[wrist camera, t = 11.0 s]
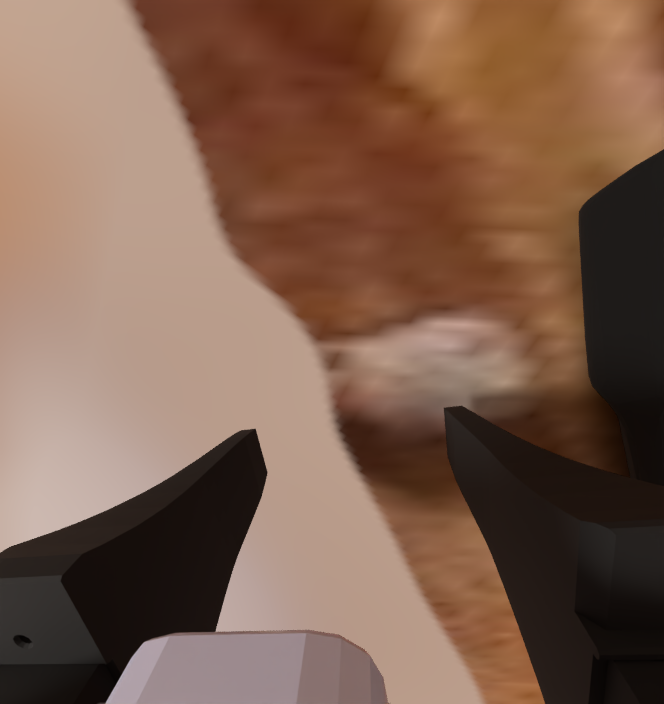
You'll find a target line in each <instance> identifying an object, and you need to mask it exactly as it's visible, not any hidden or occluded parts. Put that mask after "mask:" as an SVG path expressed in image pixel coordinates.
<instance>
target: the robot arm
mask: <svg viewBox="0 0 664 704" xmlns="http://www.w3.org/2000/svg"><path fill="white" fill-rule="evenodd" d="M444 415H445V428H446V441H447V454H448V459H449V462H450V465H451V468H452V471H453V473H454V476H455V479H456V482H457V484H458V486H459V488H460V490H461V492H462V494H463V496H464V498H465V500H466V502H467V504H468V506H469V508H470V510H471V512H472V514H473V516H474V518H475V520H476V522H477V524H478V526H479V528H480V530H481V532H482V534H483V536H484V539H485V541H486V543H487V545H488V547H489V550H490V552H491V554H492V557H493V559H494V562H495V564H496V567H497V570H498V572H499V575H500V578H501V580H502V583H503V585H504V588H505V591H506V593H507V596H508V599H509V602H510V604H511V607H512V610H513V612H514V615H515V618H516V621H517V623H518V626H519V629H520V632H521V635H522V637H523V640H524V643H525V646H526V649H527V652H528V654H529V657H530V660H531V663H532V666H533V669H534V672H535V674H536V677H537V680H538V683H539V686H540V689H541V692H542V695H543V698H544V701H545V704H664V486H661V485H657V484H653V483H649V482H645V481H641V480H637V479H633V478H629V477H625V476H621V475H618V474H614V473H611V472H607V471H604V470H601V469H597V468H594V467H591V466H588V465H585V464H582V463H579V462H576V461H573V460H570V459H567V458H565V457H562V456H560V455H557V454H555V453H552V452H550V451H547V450H545V449H542V448H540V447H538V446H535V445H533V444H531V443H529V442H527V441H525V440H523V439H521V438H518V437H516V436H514V435H512V434H510V433H509V432H507V431H505V430H503V429H501V428H499V427H497V426H496V425H494V424H492V423H490V422H489V421H487V420H485V419H484V418H482V417H480V416H478V415H477V414H475V413H473V412H472V411H470V410H468V409H466V408H465V407H463V406H456V407H447V408H444ZM266 476H267V469H266V466H265V462H264V458H263V455H262V451H261V448H260V443H259V440H258V436H257V433H256V429H250V430H241V431H239V432H237V433H235V434H234V435H232V436H231V437H229V438H228V439H226V440H225V441H223V442H222V443H221V444H219V445H218V446H216V447H215V448H213V449H212V450H210V451H209V452H208V453H206V454H205V455H203V456H202V457H201V458H199V459H198V460H196V461H195V462H193V463H192V464H190V465H188V466H187V467H185V468H184V469H182V470H181V471H179V472H178V473H176V474H175V475H173V476H172V477H170V478H168V479H167V480H165V481H163V482H162V483H160V484H158V485H156V486H154V487H153V488H151V489H149V490H147V491H146V492H144V493H142V494H140V495H138V496H136V497H134V498H132V499H129V500H127V501H125V502H124V503H121V504H119V505H117V506H115V507H113V508H111V509H109V510H107V511H104V512H102V513H100V514H98V515H95V516H93V517H90V518H88V519H86V520H83V521H81V522H78V523H76V524H73V525H71V526H68V527H65V528H63V529H61V530H58V531H55V532H52V533H49V534H46V535H43V536H40V537H37V538H35V539H32V540H29V541H26V542H23V543H20V544H17V545H14V546H11V547H9V548H7V549H6V550H4V551H3V552H1V553H0V704H389V703H388V700H387V695H386V690H385V684H384V679H383V676H382V675H381V673H380V671H379V670H378V668H377V666H376V665H375V663H374V662H373V660H372V658H371V656H370V655H369V654H368V653H367V652H366V651H365V650H364V649H363V648H361V647H359V646H357V645H356V644H354V643H352V642H350V641H349V640H347V639H345V638H344V637H342V636H340V635H337V634H330V633H324V632H318V631H312V630H287V631H286V630H285V631H238V632H237V631H236V632H215V631H216V626H217V623H218V619H219V616H220V612H221V609H222V605H223V601H224V597H225V594H226V591H227V587H228V584H229V581H230V577H231V574H232V571H233V568H234V565H235V562H236V559H237V556H238V554H239V551H240V549H241V546H242V544H243V541H244V539H245V537H246V534H247V532H248V529H249V527H250V524H251V522H252V519H253V517H254V514H255V512H256V509H257V507H258V504H259V502H260V499H261V496H262V493H263V489H264V485H265V481H266Z"/></svg>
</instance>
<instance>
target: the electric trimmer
mask: <svg viewBox="0 0 664 704" xmlns="http://www.w3.org/2000/svg"><path fill="white" fill-rule="evenodd" d="M579 239H580V256H581V274H582V291H583V309H584V326H585V341H586V352H587V363H588V373H589V378H590V381H591V384H592V386H593V388H594V389H595V390H596V391H597V392H598V393H599V394H600V395H601V396H602V397H603V398H604V399H605V400H606V401H607V402H608V403H609V405H610V406H611V407H612V409H613V410H614V411H615V413H616V415H617V417H618V419H619V423H620V428H621V433H622V438H623V443H624V448H625V453H626V458H627V463H628V468H629V473H630V478H633V479H637V480H641V481H645V482H649V483H653V484H657V485H661V486H664V150H662V151H660V152H659V153H657V154H655V155H653V156H652V157H650V158H648V159H646V160H645V161H643V162H641V163H640V164H638V165H636V166H635V167H633V168H632V169H630V170H629V171H627V172H626V173H624V174H623V175H622V176H620V177H619V178H617V179H616V180H614V181H613V182H612V183H610V184H609V185H607V186H606V187H605V188H603V189H602V190H600V191H599V192H598V193H596V194H595V195H594V196H593V197H591V198H590V199H589V200H588V201H587V202H586V203H585V204H584V205H583V206H582V208H581V209H580V211H579Z"/></svg>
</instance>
